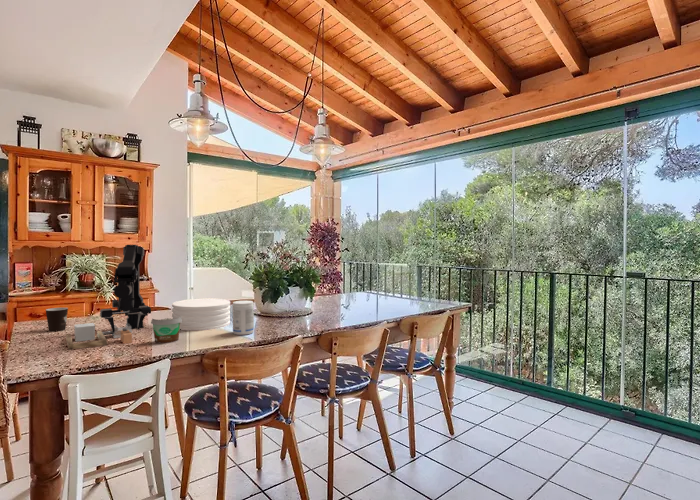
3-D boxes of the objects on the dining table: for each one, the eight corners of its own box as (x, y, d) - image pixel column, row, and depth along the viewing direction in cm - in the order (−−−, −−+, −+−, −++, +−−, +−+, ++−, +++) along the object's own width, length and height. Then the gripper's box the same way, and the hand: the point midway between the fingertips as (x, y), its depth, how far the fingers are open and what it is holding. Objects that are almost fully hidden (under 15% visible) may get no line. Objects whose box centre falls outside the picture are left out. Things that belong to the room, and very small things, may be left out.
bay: (101, 335, 186) (101, 331, 186) (106, 344, 170) (106, 340, 170) (66, 339, 179) (66, 334, 179) (68, 349, 163) (68, 344, 163)
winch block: (129, 332, 192) (129, 323, 192) (131, 335, 186) (131, 326, 186) (101, 336, 185) (101, 326, 185) (103, 339, 180) (103, 328, 180)
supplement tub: (252, 330, 201) (252, 299, 201) (254, 334, 192) (255, 302, 192) (231, 331, 198) (231, 300, 197) (233, 336, 189) (233, 303, 188)
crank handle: (128, 338, 182) (128, 327, 182) (131, 343, 174) (131, 331, 174) (120, 339, 180) (120, 328, 180) (123, 344, 173) (123, 332, 173)
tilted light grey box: (93, 336, 185) (93, 322, 185) (95, 339, 179) (95, 325, 179) (74, 338, 180) (74, 324, 180) (75, 341, 175) (75, 327, 175)
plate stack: (241, 323, 217) (241, 301, 217) (196, 333, 194) (196, 308, 193) (206, 317, 232) (206, 296, 232) (160, 325, 209) (160, 303, 208)
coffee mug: (56, 332, 191) (56, 311, 190) (41, 331, 192) (40, 310, 192) (78, 327, 202) (77, 307, 202) (63, 326, 204) (62, 306, 203)
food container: (151, 345, 171) (151, 321, 171) (151, 341, 177) (151, 318, 176) (183, 342, 177) (183, 318, 177) (182, 338, 182) (182, 316, 182)
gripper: (146, 291, 189) (146, 325, 189) (98, 294, 178) (98, 330, 178) (151, 294, 180) (151, 330, 180) (101, 297, 169) (101, 335, 169)
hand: (126, 331), depth 177 cm, fingers open, 9 cm apart
